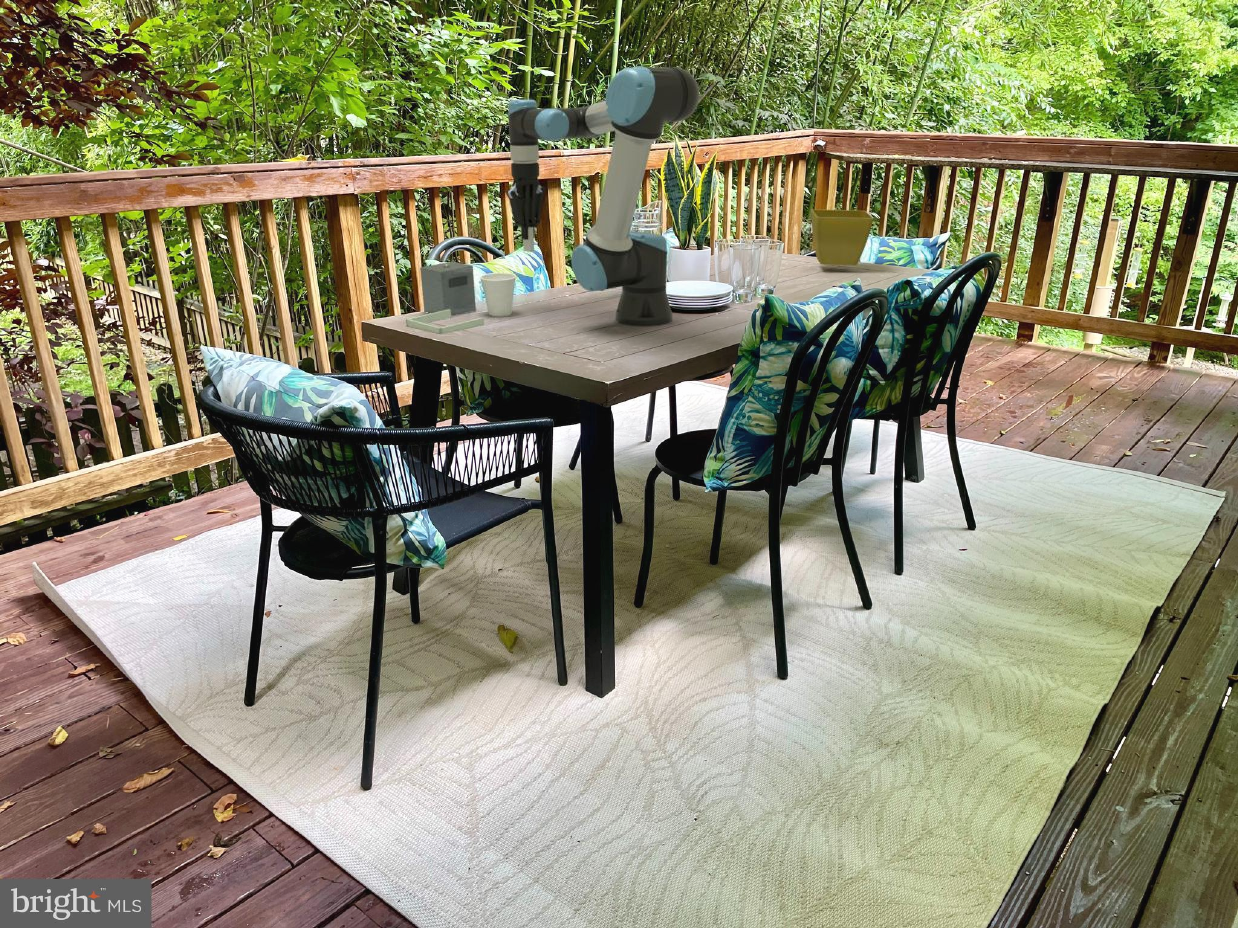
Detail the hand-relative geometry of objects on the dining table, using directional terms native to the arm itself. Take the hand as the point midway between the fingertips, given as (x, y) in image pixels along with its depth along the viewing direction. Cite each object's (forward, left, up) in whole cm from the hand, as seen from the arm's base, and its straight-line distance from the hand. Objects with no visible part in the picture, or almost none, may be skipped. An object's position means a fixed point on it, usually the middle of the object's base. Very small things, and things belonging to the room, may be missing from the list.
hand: (528, 251), depth 248 cm
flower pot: (-33, -117, -16) cm, 123 cm away
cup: (0, +12, -16) cm, 20 cm away
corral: (0, +31, -16) cm, 35 cm away
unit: (+13, +19, -16) cm, 28 cm away
